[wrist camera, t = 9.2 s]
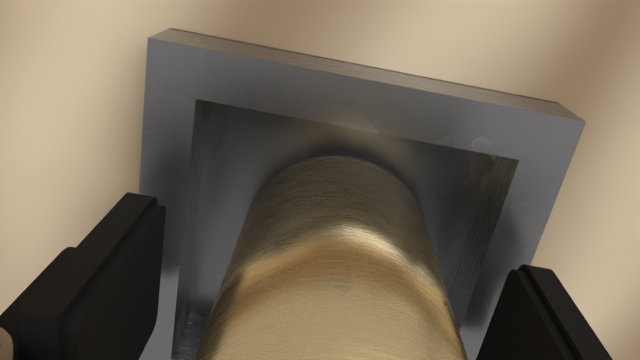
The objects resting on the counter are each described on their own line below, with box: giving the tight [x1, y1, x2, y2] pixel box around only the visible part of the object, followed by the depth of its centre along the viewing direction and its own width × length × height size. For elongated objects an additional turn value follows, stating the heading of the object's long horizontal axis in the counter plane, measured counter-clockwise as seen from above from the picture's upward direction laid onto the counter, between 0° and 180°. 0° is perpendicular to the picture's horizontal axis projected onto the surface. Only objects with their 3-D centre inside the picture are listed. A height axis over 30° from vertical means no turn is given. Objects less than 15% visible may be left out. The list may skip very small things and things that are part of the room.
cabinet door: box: [0, 0, 640, 360], centre depth 13 cm, size 30×14×3 cm, turn 80°
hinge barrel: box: [194, 156, 468, 360], centre depth 10 cm, size 4×4×7 cm
